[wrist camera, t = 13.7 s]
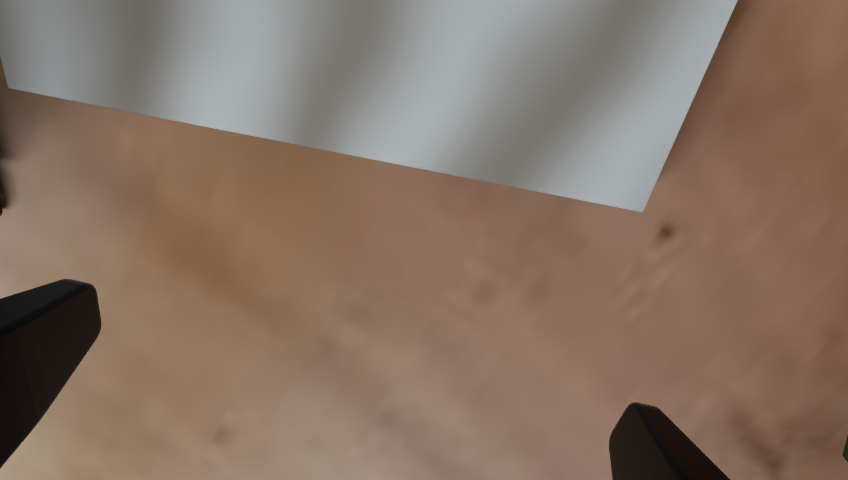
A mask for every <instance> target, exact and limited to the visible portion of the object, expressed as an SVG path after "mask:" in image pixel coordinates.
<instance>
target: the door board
mask: <svg viewBox="0 0 848 480" xmlns="http://www.w3.org/2000/svg"><path fill="white" fill-rule="evenodd" d="M737 1H738V0H0V57H1V61H2V65H3V69H4V73H5V77H6V81H7V85H8V88H10V89H15V90H21V91H26V92H31V93H36V94H41V95H46V96H51V97H56V98H61V99H67V100H72V101H77V102H82V103H87V104H92V105H97V106H102V107H107V108H113V109H118V110H123V111H128V112H133V113H138V114H143V115H148V116H154V117H159V118H164V119H169V120H174V121H179V122H184V123H189V124H194V125H200V126H205V127H210V128H215V129H220V130H225V131H230V132H235V133H240V134H246V135H251V136H256V137H261V138H266V139H271V140H276V141H281V142H287V143H292V144H297V145H302V146H307V147H312V148H317V149H322V150H327V151H333V152H338V153H343V154H348V155H353V156H358V157H363V158H368V159H373V160H379V161H384V162H389V163H394V164H399V165H404V166H409V167H414V168H420V169H425V170H430V171H435V172H440V173H445V174H450V175H455V176H460V177H466V178H471V179H476V180H481V181H486V182H491V183H496V184H501V185H506V186H512V187H517V188H522V189H527V190H532V191H537V192H542V193H547V194H553V195H558V196H563V197H568V198H573V199H578V200H583V201H588V202H593V203H599V204H604V205H609V206H614V207H619V208H624V209H629V210H634V211H639V212H643V210H644V208H645V206H646V204H647V201H648V199H649V197H650V195H651V192H652V190H653V188H654V186H655V184H656V181H657V179H658V177H659V175H660V172H661V170H662V168H663V166H664V163H665V161H666V159H667V157H668V155H669V152H670V150H671V148H672V146H673V143H674V141H675V139H676V137H677V134H678V132H679V130H680V128H681V125H682V123H683V121H684V119H685V117H686V114H687V112H688V110H689V108H690V105H691V103H692V101H693V99H694V96H695V94H696V92H697V90H698V88H699V85H700V83H701V81H702V79H703V76H704V74H705V72H706V70H707V67H708V65H709V63H710V61H711V59H712V56H713V54H714V52H715V50H716V47H717V45H718V43H719V41H720V38H721V36H722V34H723V32H724V30H725V27H726V25H727V23H728V21H729V18H730V16H731V14H732V12H733V9H734V7H735V5H736V3H737Z"/></svg>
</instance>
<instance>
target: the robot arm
mask: <svg viewBox="0 0 848 480" xmlns="http://www.w3.org/2000/svg"><path fill="white" fill-rule="evenodd" d="M1 214H2V206H1V203H0V216H1ZM100 329H101V317H100V310H99V304H98V298H97V292H96V289H95V288H94V286H93V285H91V284H89V283H85V282H80V281H76V280H71V279H63V280H59V281H56V282H53V283H50V284H46V285H43V286H40V287H37V288H34V289H30V290H27V291H24V292H21V293H18V294H14V295H11V296H8V297H5V298H1V299H0V468H1V467H2V466H3V464H4V463H5V462H6V461H7V460H8V458H9V457H10V456H11V455H12V454H13V452H14V451H15V450H16V449H17V448H18V447H19V445H20V444H21V443H22V442H23V441H24V439H25V438H26V437H27V436H28V435H29V433H30V432H31V431H32V430H33V428H34V427H35V426H36V425H37V423H38V422H39V421H40V419H41V418H42V417H43V415H44V414H45V413H46V411H47V410H48V409H49V407H50V406H51V404H52V403H53V401H54V400H55V399H56V397H57V396H58V394H59V393H60V391H61V390H62V388H63V387H64V385H65V384H66V382H67V381H68V380H69V378H70V377H71V375H72V374H73V372H74V371H75V369H76V368H77V366H78V365H79V364H80V362H81V361H82V359H83V358H84V356H85V355H86V353H87V352H88V350H89V349H90V347H91V346H92V345H93V343H94V342H95V340H96V339H97V337H98V335H99V333H100ZM609 451H610V460H611V469H612V478H613V480H730V479H729V478H728V477H727V476H726V475H725V474H724V473H723V472H722V471H721V470H720V469H719V468H718V467H717V466H716V465H715V464H714V463H713V462H712V461H711V460H710V459H709V458H708V457H707V456H706V455H705V454H704V453H703V452H702V451H701V450H700V449H699V448H698V447H697V446H696V445H695V444H694V443H693V442H692V441H691V440H690V439H689V438H688V437H687V436H686V435H685V434H684V433H683V432H682V431H681V430H680V429H679V428H678V427H677V426H676V425H675V424H674V423H673V422H672V421H671V420H670V419H669V418H668V417H667V416H666V415H665V414H664V413H663V412H662V411H661V410H660V409H658V408H657V407H654V406H651V405H646V404H641V403H631V404H630V405H628V407H627V408H626V410H625V411H624V413H623V415H622V416H621V418H620V420H619V421H618V423H617V425H616V426H615V428H614V429H613V431H612V433H611V436H610V440H609Z"/></svg>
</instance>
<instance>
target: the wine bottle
mask: <svg viewBox="0 0 848 480" xmlns="http://www.w3.org/2000/svg"><path fill="white" fill-rule="evenodd" d="M843 457H844V458H845V459H846V460H847V462H848V437H847V441H846V445H845V449H844V453H843Z"/></svg>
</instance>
